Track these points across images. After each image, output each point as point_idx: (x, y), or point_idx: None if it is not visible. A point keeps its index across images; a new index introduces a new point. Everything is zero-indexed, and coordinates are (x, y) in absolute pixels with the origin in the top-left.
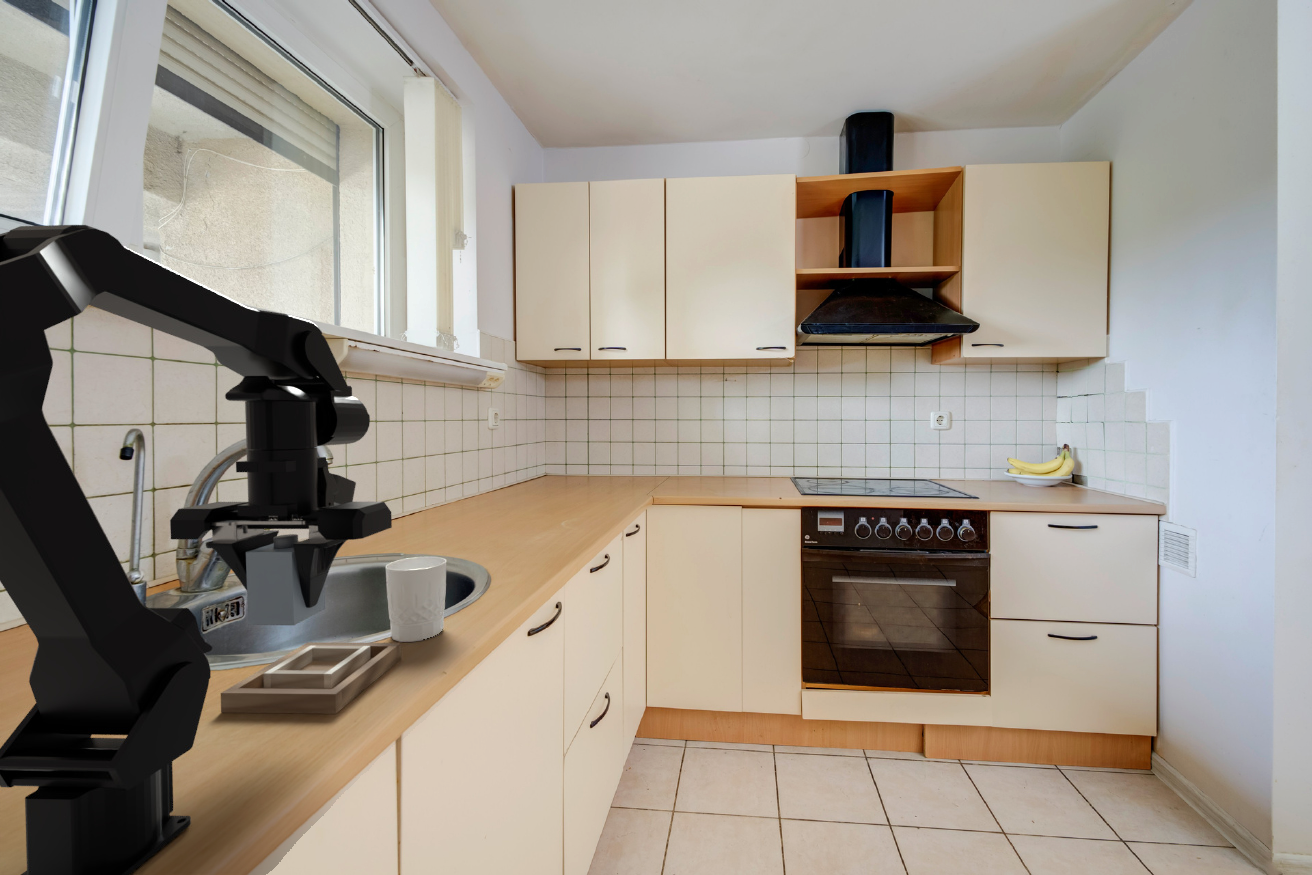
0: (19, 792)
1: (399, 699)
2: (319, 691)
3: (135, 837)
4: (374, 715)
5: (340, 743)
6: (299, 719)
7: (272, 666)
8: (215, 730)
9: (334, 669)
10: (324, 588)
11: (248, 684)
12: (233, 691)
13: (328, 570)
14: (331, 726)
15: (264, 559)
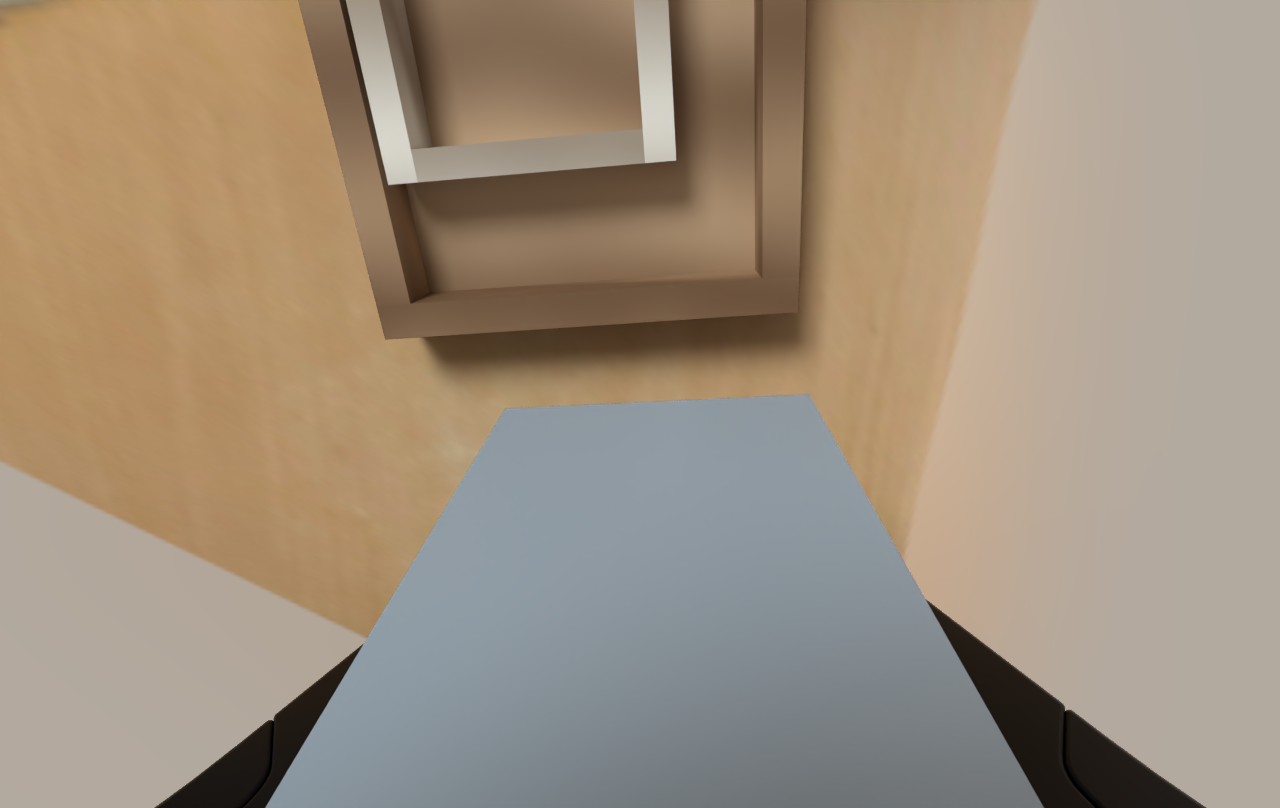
0: (339, 617)
1: (962, 179)
2: (725, 298)
3: None
4: (918, 292)
5: (890, 433)
6: (690, 335)
7: (354, 106)
8: (496, 406)
9: (661, 115)
10: (852, 474)
11: (401, 252)
12: (418, 327)
13: (1069, 720)
14: (815, 362)
15: None
